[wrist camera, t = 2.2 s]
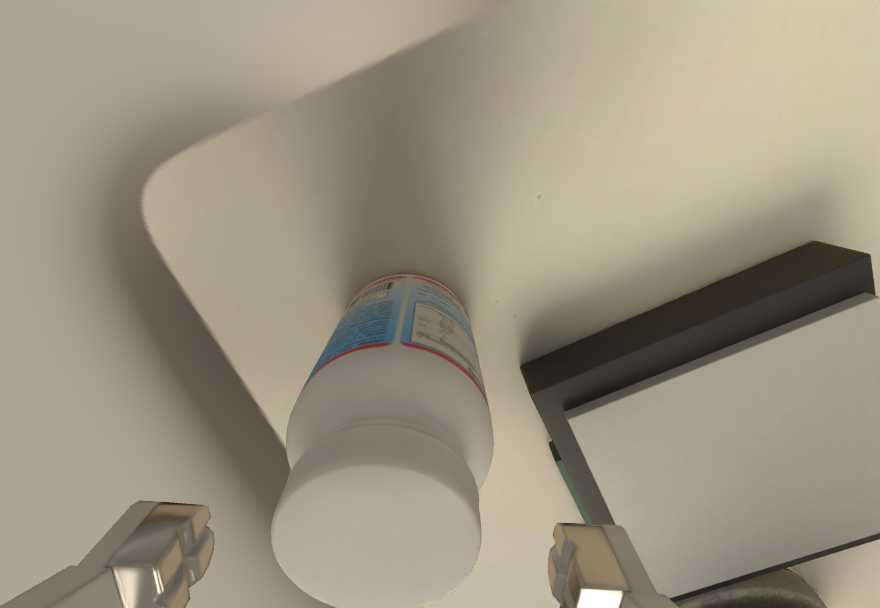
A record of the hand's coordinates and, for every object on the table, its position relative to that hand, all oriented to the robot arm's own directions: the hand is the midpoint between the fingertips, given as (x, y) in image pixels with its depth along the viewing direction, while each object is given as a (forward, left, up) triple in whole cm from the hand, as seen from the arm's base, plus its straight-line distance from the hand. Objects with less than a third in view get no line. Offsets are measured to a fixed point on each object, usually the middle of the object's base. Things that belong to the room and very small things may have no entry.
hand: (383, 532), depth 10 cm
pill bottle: (0, 0, -11) cm, 11 cm away
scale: (+12, +11, -11) cm, 19 cm away
